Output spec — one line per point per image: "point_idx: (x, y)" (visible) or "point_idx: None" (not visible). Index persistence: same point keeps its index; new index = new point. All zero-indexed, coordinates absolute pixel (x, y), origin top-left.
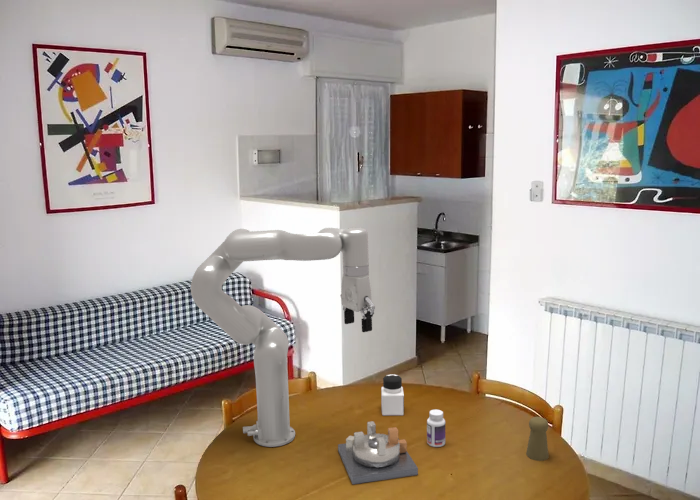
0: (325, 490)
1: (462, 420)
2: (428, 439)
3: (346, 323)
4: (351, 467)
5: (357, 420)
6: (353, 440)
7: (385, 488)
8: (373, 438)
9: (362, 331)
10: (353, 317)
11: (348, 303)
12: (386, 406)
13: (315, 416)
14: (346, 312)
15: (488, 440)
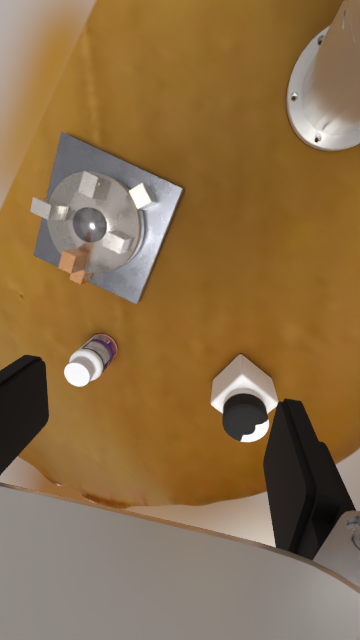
0: (78, 72)
1: (136, 427)
2: (100, 337)
3: (279, 405)
4: (91, 153)
5: (260, 304)
6: (131, 196)
7: (33, 180)
8: (100, 228)
9: (30, 355)
10: (270, 494)
11: (19, 635)
12: (234, 367)
13: (348, 245)
14: (302, 494)
15: (68, 404)
